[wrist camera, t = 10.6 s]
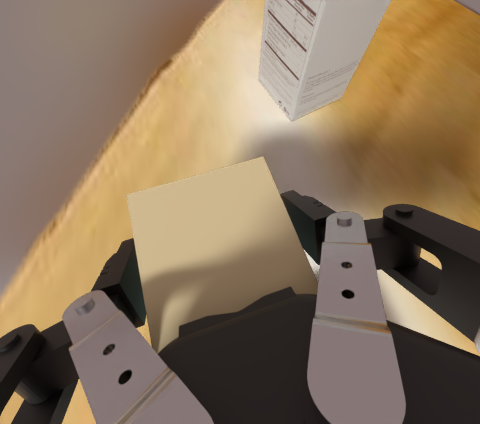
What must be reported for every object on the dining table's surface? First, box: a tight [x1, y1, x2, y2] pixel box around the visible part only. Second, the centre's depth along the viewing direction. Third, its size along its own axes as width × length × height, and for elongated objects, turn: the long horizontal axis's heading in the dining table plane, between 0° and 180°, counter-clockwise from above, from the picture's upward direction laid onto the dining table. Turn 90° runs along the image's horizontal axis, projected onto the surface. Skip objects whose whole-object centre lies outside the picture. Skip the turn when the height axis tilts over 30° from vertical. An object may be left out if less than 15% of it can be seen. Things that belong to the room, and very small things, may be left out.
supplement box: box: [259, 0, 391, 121], centre depth 21 cm, size 7×7×13 cm
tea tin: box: [126, 156, 318, 354], centre depth 13 cm, size 5×5×12 cm
